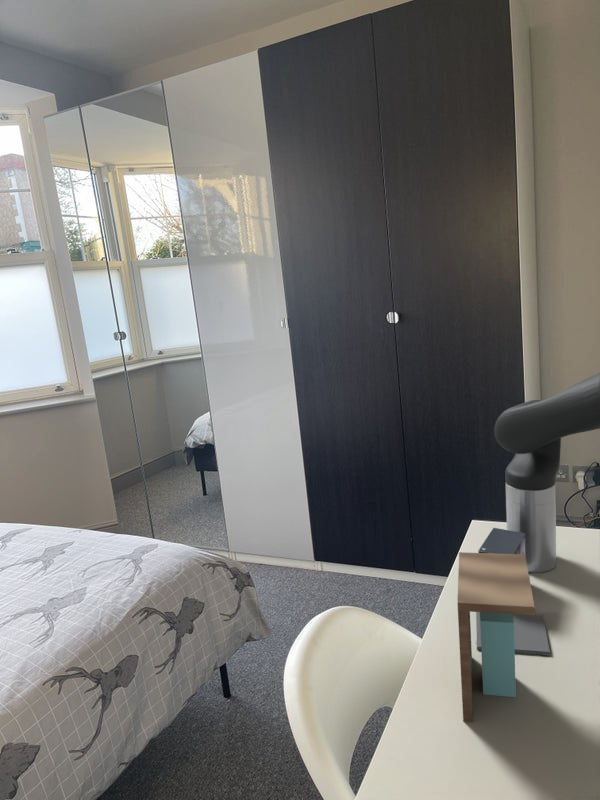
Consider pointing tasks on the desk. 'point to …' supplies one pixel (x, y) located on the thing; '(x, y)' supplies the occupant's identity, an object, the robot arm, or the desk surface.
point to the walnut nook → (488, 601)
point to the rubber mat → (525, 634)
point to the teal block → (498, 654)
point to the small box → (504, 542)
